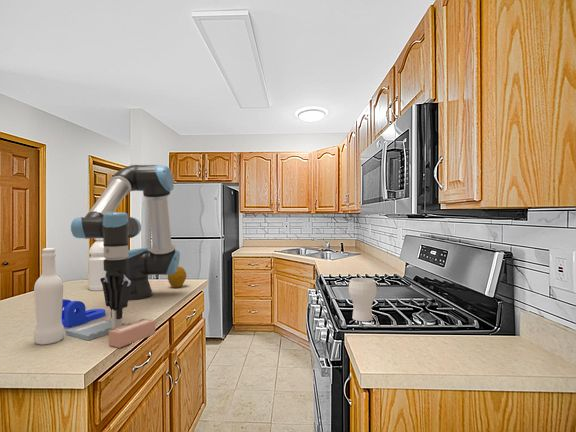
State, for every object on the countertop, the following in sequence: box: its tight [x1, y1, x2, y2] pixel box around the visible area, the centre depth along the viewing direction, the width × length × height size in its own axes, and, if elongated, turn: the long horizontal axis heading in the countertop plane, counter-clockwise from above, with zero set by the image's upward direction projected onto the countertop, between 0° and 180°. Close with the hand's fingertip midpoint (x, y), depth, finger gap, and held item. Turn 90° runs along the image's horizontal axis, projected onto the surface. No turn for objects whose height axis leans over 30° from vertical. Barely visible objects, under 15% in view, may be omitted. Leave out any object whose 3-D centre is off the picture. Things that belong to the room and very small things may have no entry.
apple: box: [167, 266, 187, 289], centre depth 198 cm, size 10×10×12 cm
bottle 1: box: [33, 247, 65, 346], centre depth 116 cm, size 8×8×30 cm
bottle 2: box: [87, 238, 107, 292], centre depth 195 cm, size 14×14×28 cm
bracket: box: [62, 298, 106, 329], centre depth 139 cm, size 18×8×9 cm, turn 158°
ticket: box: [65, 319, 126, 341], centre depth 126 cm, size 14×12×2 cm
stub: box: [108, 318, 156, 349], centre depth 117 cm, size 14×5×5 cm, turn 153°
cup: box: [348, 277, 378, 322], centre depth 140 cm, size 11×11×15 cm
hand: (116, 328), depth 121 cm, fingers closed
